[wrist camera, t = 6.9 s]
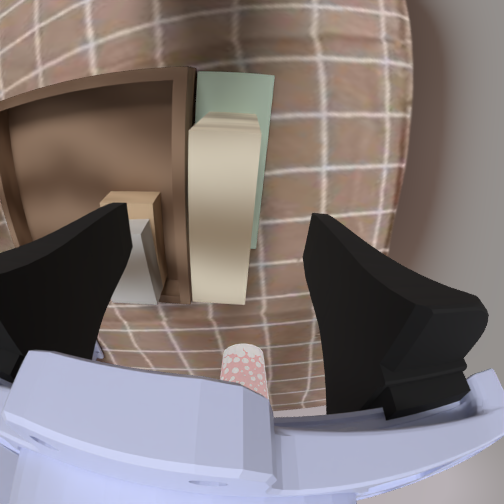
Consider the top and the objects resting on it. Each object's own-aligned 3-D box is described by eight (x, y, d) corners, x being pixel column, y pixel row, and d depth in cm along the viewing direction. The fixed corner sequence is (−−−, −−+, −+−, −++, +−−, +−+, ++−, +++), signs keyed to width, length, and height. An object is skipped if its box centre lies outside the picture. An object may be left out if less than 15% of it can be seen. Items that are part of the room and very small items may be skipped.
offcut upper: (163, 287, 22) (157, 304, 20) (120, 285, 22) (112, 302, 20) (149, 218, 18) (140, 234, 17) (101, 220, 18) (89, 235, 17)
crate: (194, 282, 25) (190, 304, 23) (42, 267, 24) (29, 284, 22) (196, 68, 15) (187, 66, 13) (7, 99, 14) (-14, 106, 12)
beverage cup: (207, 345, 30) (197, 466, 19) (261, 334, 29) (267, 463, 18) (228, 372, 34) (225, 478, 22) (276, 363, 33) (284, 474, 21)
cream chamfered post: (245, 239, 22) (244, 304, 16) (205, 237, 22) (192, 301, 16) (256, 114, 17) (261, 134, 11) (209, 111, 17) (188, 130, 11)
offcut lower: (167, 274, 24) (162, 290, 22) (124, 271, 23) (117, 286, 22) (160, 191, 19) (152, 203, 18) (110, 191, 19) (99, 202, 18)
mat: (255, 245, 23) (255, 248, 23) (195, 241, 23) (194, 245, 22) (274, 75, 16) (274, 75, 15) (199, 71, 15) (197, 71, 15)
